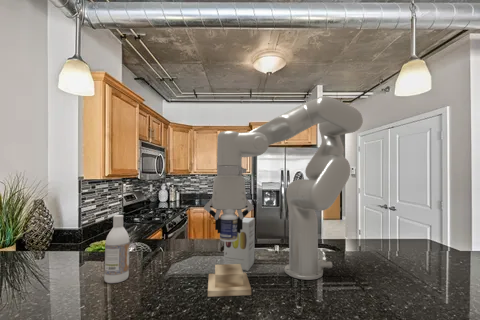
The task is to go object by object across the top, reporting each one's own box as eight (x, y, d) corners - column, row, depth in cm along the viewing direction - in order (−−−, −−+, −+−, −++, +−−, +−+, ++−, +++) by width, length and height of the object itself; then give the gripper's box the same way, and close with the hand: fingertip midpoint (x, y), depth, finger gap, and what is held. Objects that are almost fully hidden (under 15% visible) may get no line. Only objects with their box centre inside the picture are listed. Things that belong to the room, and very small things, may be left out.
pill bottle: (235, 242, 73) (235, 208, 74) (217, 241, 74) (217, 208, 75) (239, 238, 78) (239, 206, 79) (222, 237, 80) (222, 205, 80)
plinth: (245, 277, 82) (246, 261, 83) (251, 294, 70) (251, 276, 71) (208, 278, 81) (208, 262, 81) (207, 296, 69) (207, 278, 69)
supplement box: (222, 268, 90) (223, 220, 91) (231, 259, 99) (231, 216, 100) (248, 271, 87) (249, 221, 88) (255, 262, 96) (255, 217, 97)
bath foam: (127, 282, 78) (129, 216, 79) (102, 285, 76) (104, 217, 77) (129, 273, 85) (130, 213, 86) (105, 276, 82) (108, 214, 83)
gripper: (255, 172, 82) (254, 229, 81) (201, 172, 80) (200, 229, 79) (259, 172, 75) (258, 234, 74) (200, 171, 73) (199, 235, 72)
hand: (228, 231), depth 77 cm, fingers closed on pill bottle, 5 cm apart
